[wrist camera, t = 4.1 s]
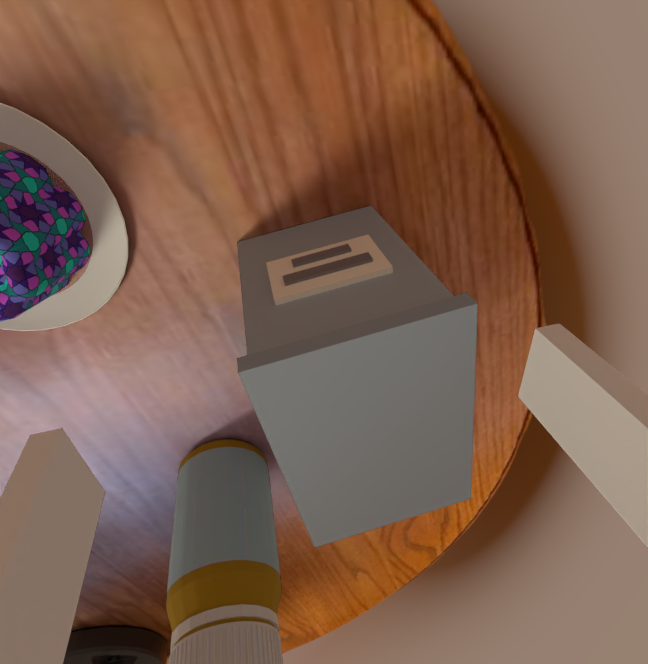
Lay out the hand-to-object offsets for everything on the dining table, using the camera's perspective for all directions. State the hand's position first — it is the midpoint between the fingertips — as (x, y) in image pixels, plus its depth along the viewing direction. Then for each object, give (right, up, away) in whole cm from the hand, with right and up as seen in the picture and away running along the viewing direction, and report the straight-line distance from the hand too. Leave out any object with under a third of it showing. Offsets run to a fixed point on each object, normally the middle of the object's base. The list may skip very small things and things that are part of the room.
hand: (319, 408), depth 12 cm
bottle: (-8, -9, +22) cm, 25 cm away
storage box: (0, +4, +16) cm, 16 cm away
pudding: (-16, +8, +9) cm, 20 cm away
